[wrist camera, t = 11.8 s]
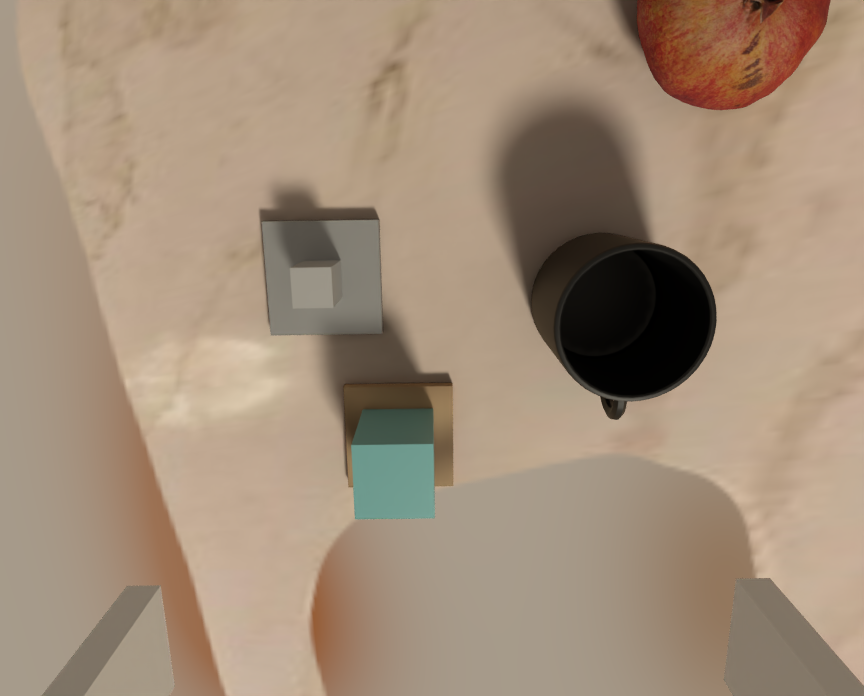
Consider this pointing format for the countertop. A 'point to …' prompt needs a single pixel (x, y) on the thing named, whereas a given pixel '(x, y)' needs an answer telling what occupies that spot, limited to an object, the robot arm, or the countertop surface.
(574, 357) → the mug
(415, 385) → the brown base with post
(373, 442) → the teal rectangular block
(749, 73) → the fruit
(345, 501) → the countertop surface
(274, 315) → the grey post
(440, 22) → the countertop surface
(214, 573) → the countertop surface
